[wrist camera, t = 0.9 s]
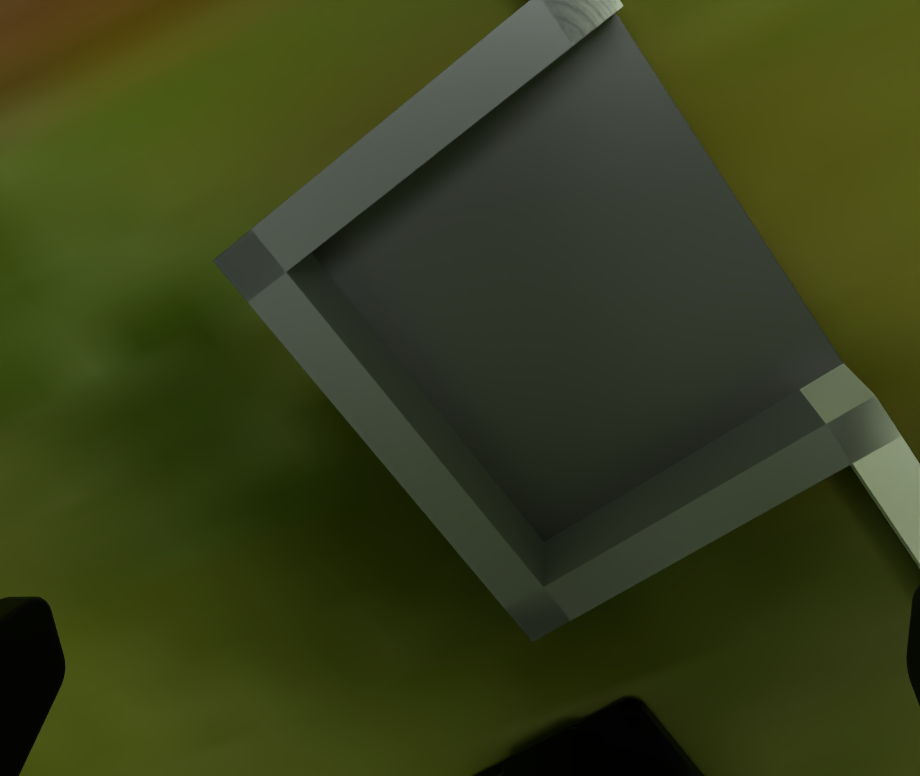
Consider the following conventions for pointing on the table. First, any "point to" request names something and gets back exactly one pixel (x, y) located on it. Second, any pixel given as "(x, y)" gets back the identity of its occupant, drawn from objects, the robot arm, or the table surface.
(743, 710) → the table surface
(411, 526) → the table surface
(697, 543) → the trap box
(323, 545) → the table surface
